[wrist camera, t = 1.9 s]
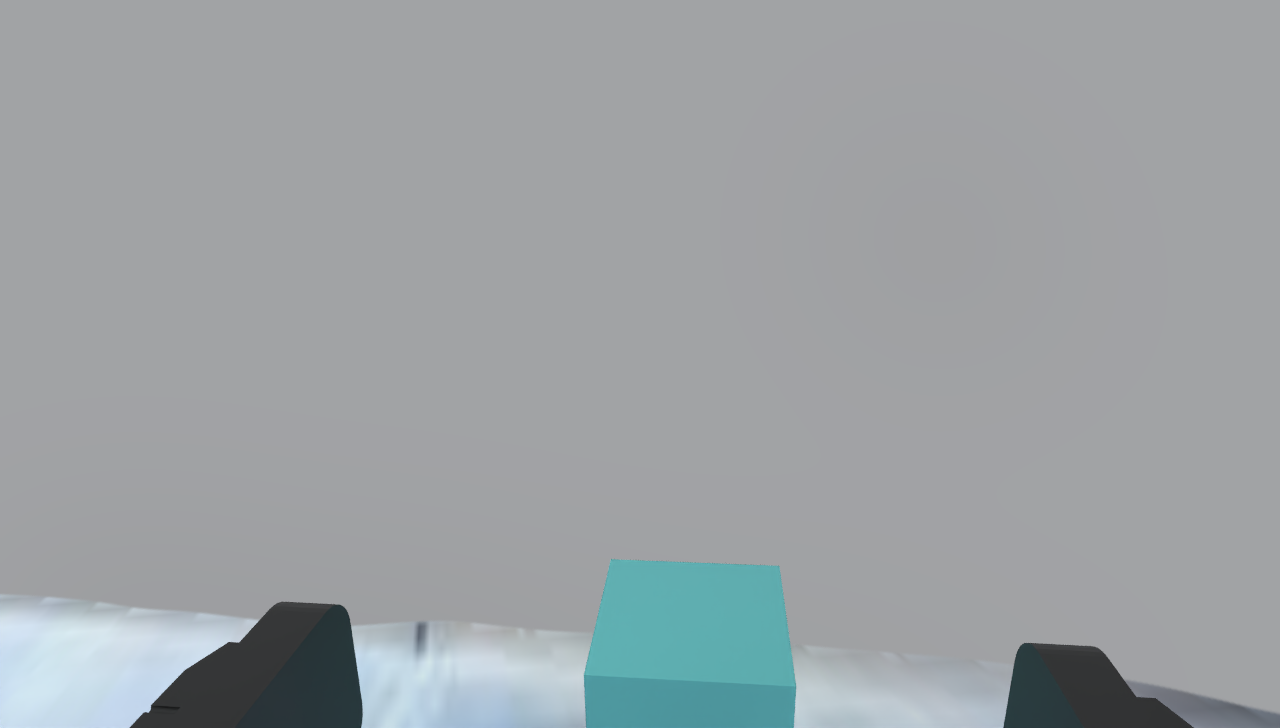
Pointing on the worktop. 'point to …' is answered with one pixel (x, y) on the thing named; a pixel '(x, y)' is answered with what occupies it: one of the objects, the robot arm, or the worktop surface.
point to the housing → (690, 648)
